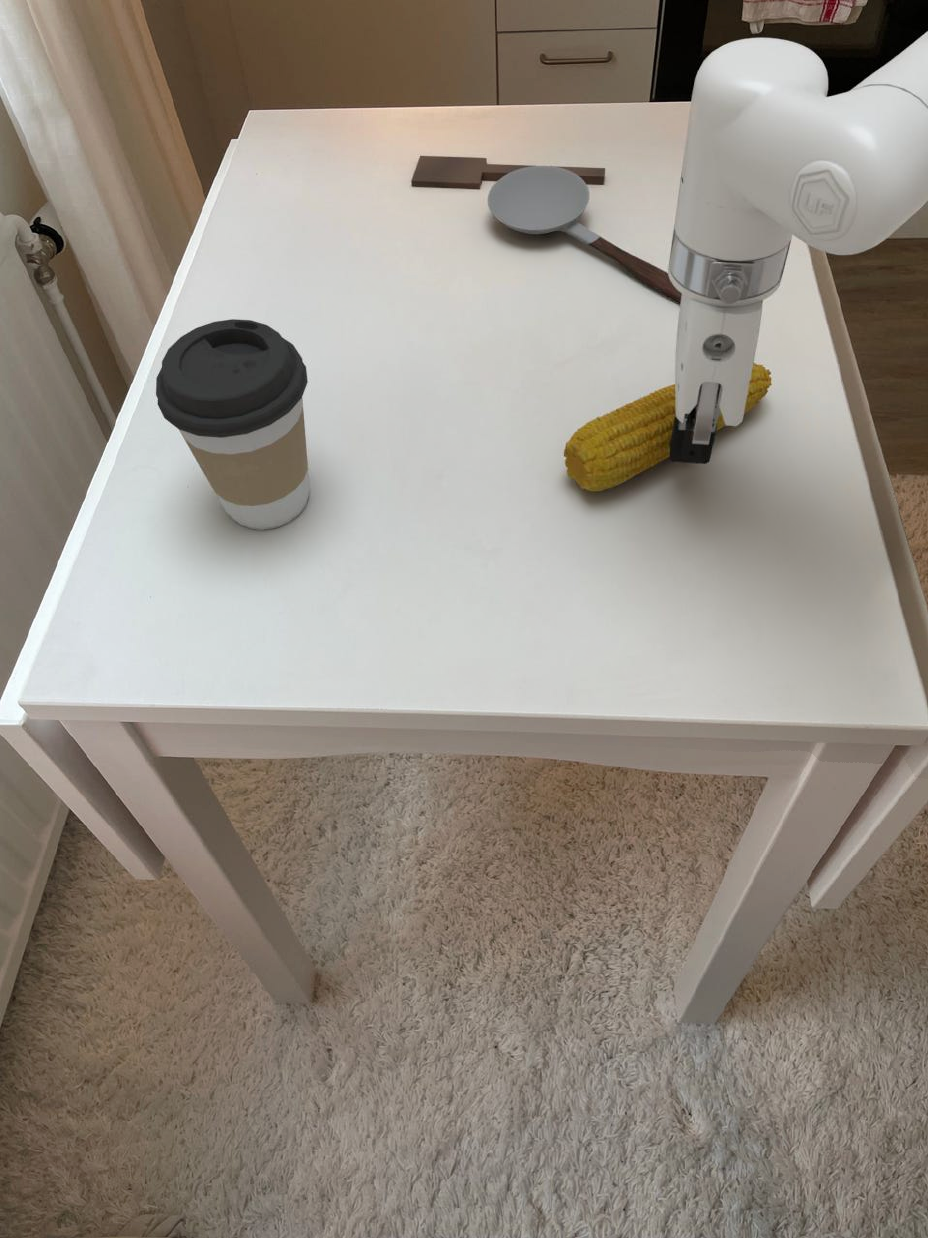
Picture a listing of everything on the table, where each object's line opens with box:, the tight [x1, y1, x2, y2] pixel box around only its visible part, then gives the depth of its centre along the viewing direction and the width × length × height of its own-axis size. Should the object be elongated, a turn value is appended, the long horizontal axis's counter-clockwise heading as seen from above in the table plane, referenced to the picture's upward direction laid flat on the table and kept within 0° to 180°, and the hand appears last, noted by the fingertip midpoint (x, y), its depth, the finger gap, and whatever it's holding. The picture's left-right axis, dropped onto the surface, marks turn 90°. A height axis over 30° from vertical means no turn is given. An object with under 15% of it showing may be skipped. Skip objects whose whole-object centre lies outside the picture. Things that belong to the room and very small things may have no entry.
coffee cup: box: [155, 318, 311, 531], centre depth 76 cm, size 11×11×15 cm
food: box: [563, 362, 773, 493], centre depth 81 cm, size 21×6×6 cm, turn 124°
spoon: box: [487, 165, 682, 304], centre depth 99 cm, size 11×33×3 cm, turn 42°
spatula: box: [411, 155, 606, 190], centre depth 110 cm, size 22×6×1 cm, turn 81°
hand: (689, 455), depth 78 cm, fingers closed
